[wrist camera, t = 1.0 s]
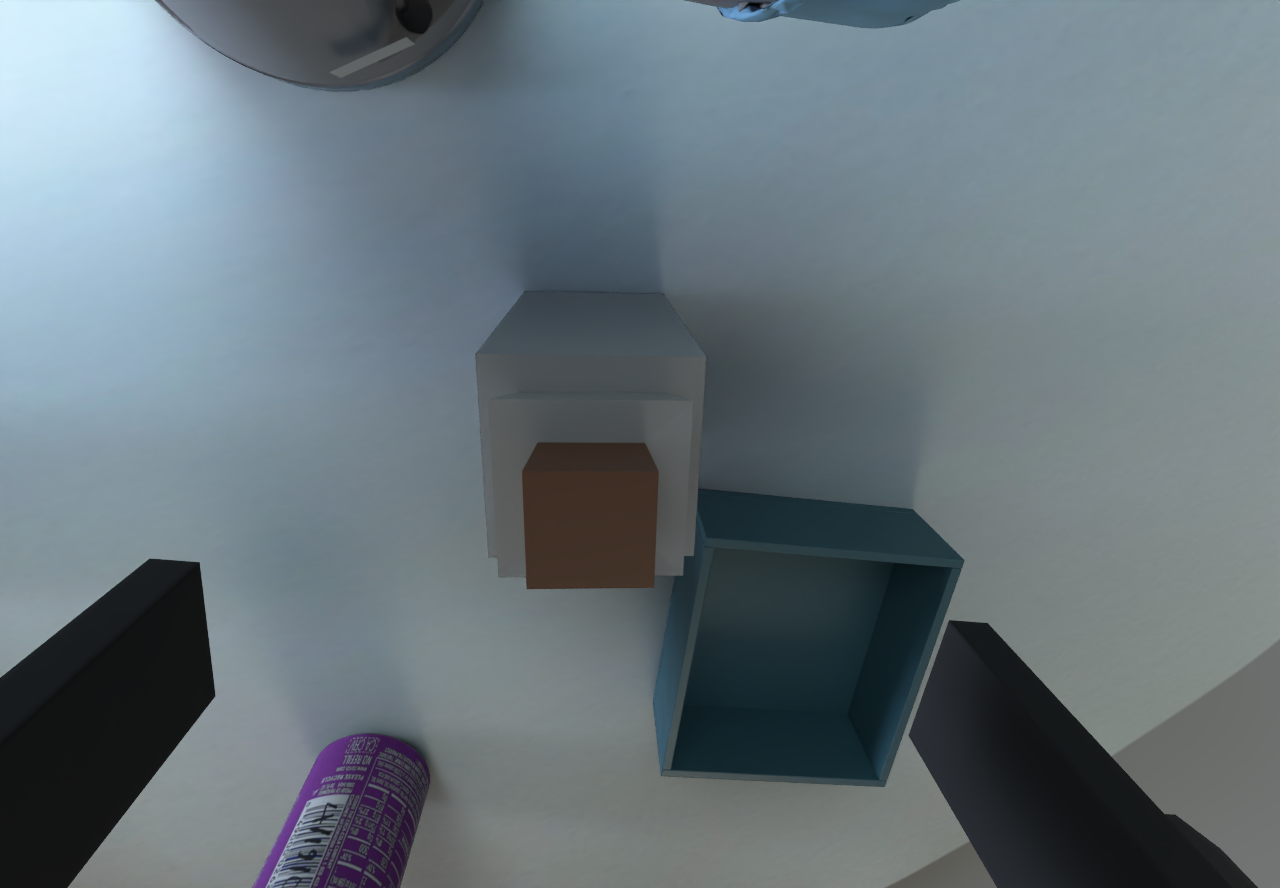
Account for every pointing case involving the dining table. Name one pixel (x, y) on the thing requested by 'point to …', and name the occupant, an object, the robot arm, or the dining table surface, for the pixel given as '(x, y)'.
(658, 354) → the perfume bottle
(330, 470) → the dining table surface
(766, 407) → the dining table surface
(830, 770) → the case
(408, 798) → the beverage can
